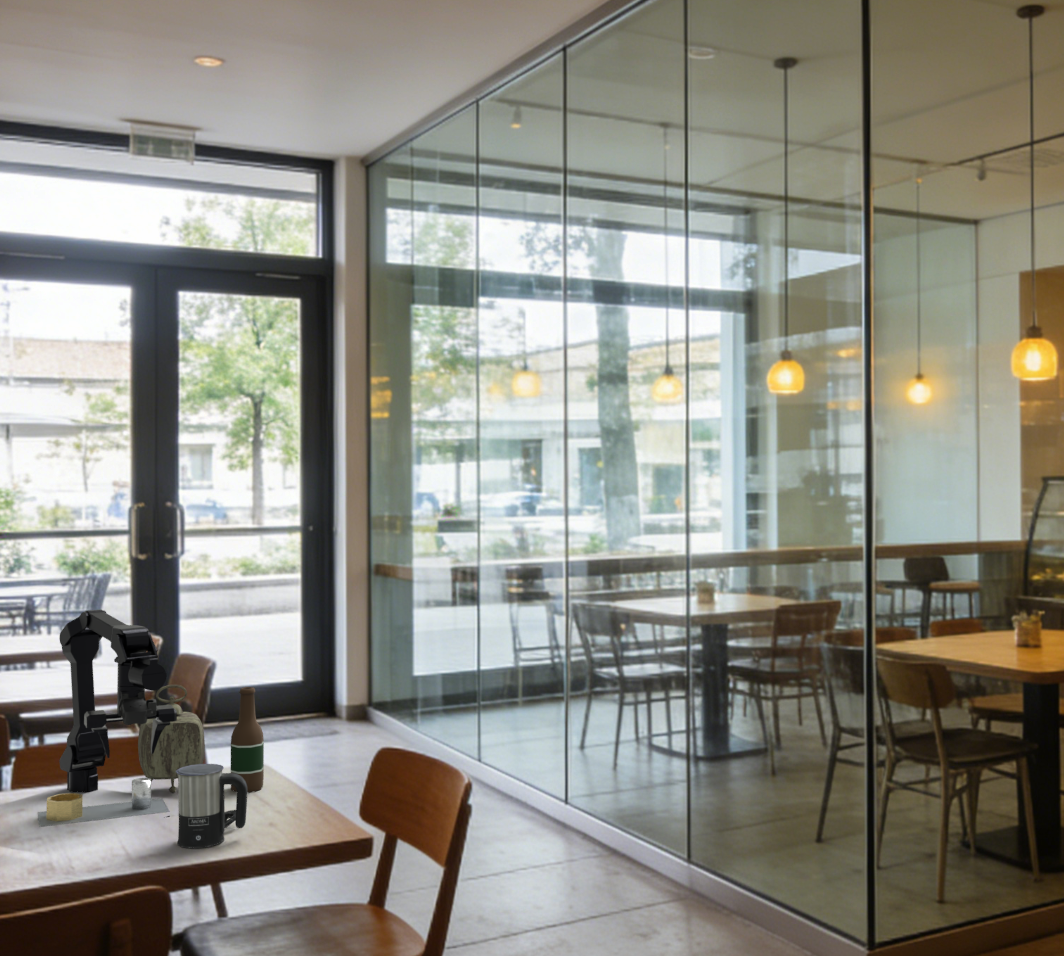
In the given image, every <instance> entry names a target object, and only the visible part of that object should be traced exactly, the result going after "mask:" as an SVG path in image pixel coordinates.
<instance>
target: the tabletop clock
mask: <svg viewBox="0 0 1064 956" xmlns="http://www.w3.org/2000/svg"><path fill="white" fill-rule="evenodd" d="M171 688H172V689H173V688H174V689H176V688H177V689H180V690H183V691H184V696H181V697H180V698H177V699H175V697H174V696H170V697H169V699H163V698H161V697H159V694H160V693H161V692H162V691H163V690H166V689H171ZM187 696H188V691H187V688H185V687H184V686H183V685H181V684H168V685H163V686H162V687H161V688H159V689H158V690H157V692H156V696H155V697H156V700H158V701H159V702H161V703H165V704H166V705H171V706H173V707H174V708H175V709H176V711H177V721H173V722H170V725H168V726H165V728H164V729H163V731H162V733H161V735H160V737H159V740H158V742H157V745H156V748H155V751H154V753H153V754H151V737H152V726H153V719H147V722H146V723H145V724H140V725H139V730H138V740H137V749H138V759H139V764H140V768H141V770H142V772H143V775H144V776H145V777H144V778H150V779H151V783H152V782H153V780H158V781H159V780H161V781H162V780H170V784H171V786H170V787H169V789H168V791H169V792H170V793H171V794H174V793H176V792H177V788H176V787H175V780H176V779H178V775H177V773H176V771H177V770H178V769H180V768H182V767H186V766H190V765H197V764H204V759H205V750H206V749H205V747H206V740H205V731H204V726H203V724H202V721H201V719H200V718H199V716H198V715H197V714H196V713H193V712H189V711H183V709H182V707H181V706H180V705H179V704H177V703H178V702H180V701H181V702H182V701H184V699H186V698H187Z"/></svg>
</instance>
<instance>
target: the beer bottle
mask: <svg viewBox="0 0 1064 956" xmlns="http://www.w3.org/2000/svg"><path fill="white" fill-rule="evenodd" d="M255 693H256V689H255V687H253V686H245V687H241V688H240V690H239V694H240V699H239V701H240V702H239V713H238V714H239V715H238V716H239V717H238V721H237V723H236V725H235V727H234V728H233V731H232V733H231V736H230V773H235V774H238V775H240V776H241V777H242V778H243V779H244V780H245V782H246V784H247V793H253V792H258V791H261V790H262V788H263V787H264V774H265V773H264V772H265V771H264V770H265V769H264V766H265V765H264V764H265V760H264V757H265V755H264V752H265V751H264V749H265V748H264V745H265V744H264V743H265V741H264V733H263V732H264V731H263V730H262V726H261V725H260V724H259V723H258V721H257V717H256V716H257V715H256V705H255ZM230 790H231V791H232V792H236V793H237V790H236V788H235V786H233V785H230Z"/></svg>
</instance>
